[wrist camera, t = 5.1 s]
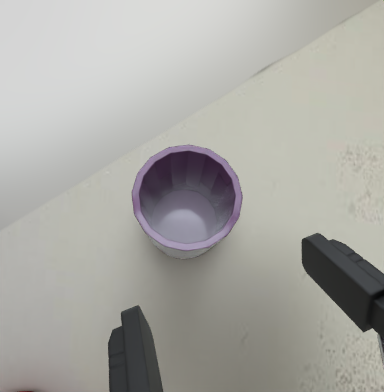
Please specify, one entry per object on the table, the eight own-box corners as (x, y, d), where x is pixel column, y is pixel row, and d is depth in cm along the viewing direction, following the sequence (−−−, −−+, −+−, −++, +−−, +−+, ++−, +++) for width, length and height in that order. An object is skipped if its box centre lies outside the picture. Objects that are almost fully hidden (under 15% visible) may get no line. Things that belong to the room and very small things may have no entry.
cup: (193, 274, 21) (202, 273, 14) (132, 230, 22) (109, 207, 14) (233, 213, 23) (261, 183, 15) (175, 174, 24) (175, 126, 16)
